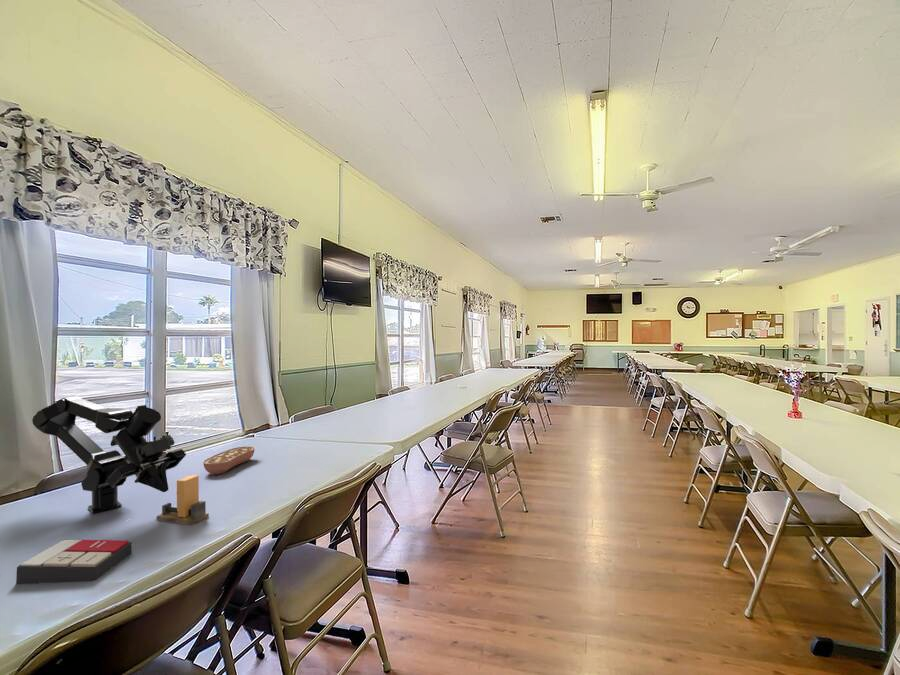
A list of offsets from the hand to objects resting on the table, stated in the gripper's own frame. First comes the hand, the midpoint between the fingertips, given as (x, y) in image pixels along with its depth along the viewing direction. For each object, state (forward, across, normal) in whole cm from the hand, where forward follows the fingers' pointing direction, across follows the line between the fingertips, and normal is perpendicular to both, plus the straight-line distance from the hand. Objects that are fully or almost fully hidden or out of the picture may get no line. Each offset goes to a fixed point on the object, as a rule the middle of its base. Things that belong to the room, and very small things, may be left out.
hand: (166, 490), depth 114 cm
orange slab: (+9, 0, -1) cm, 9 cm away
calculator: (+9, -25, +2) cm, 26 cm away
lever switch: (+8, 0, +1) cm, 8 cm away
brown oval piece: (-6, +40, +17) cm, 44 cm away
